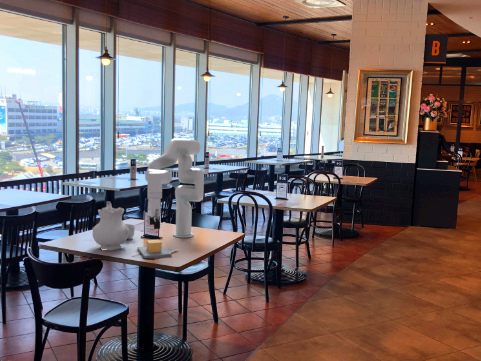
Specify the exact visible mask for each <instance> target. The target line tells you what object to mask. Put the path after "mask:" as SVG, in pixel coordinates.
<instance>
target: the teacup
mask: <svg viewBox="0 0 481 361" xmlns="http://www.w3.org/2000/svg"><path fill="white" fill-rule="evenodd" d="M124 224H125V225H127V227H128V228H129V235H128V238H127V239H129V240H131V239H132V238H133V237H134V236H135V229H136V227H135V225H134V224H131V223H124ZM127 239H126V241H127Z"/></svg>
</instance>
